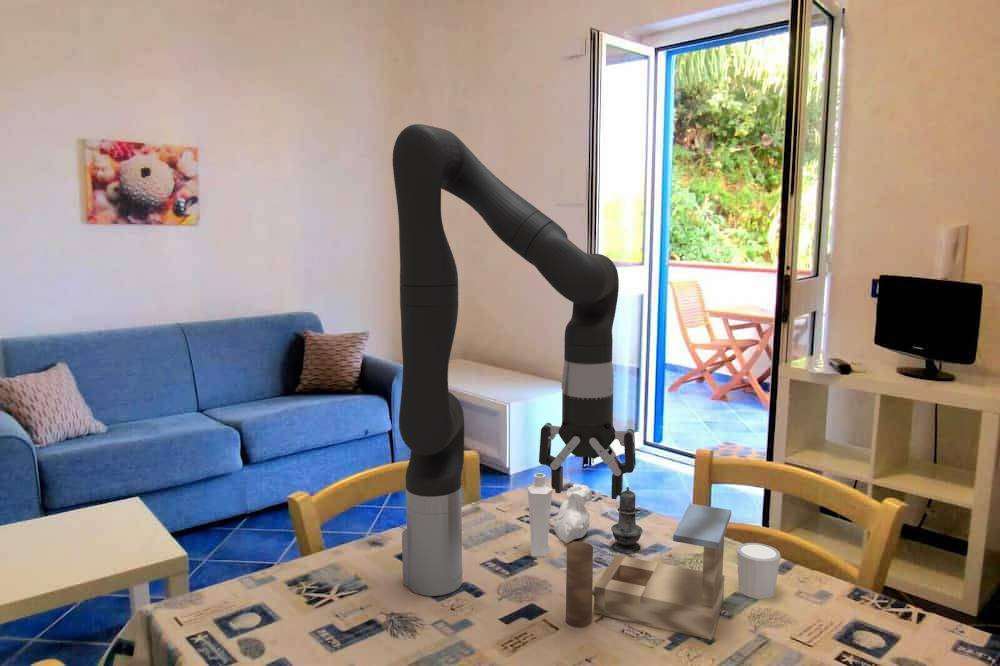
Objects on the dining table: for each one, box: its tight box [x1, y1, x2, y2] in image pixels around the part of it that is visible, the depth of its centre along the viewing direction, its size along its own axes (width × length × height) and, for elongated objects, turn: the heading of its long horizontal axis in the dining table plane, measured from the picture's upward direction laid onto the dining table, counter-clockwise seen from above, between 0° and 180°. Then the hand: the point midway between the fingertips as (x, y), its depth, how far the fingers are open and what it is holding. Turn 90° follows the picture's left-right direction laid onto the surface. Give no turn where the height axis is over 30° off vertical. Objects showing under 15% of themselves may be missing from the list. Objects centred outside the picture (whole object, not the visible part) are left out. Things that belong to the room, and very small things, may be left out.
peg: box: [565, 541, 594, 629], centre depth 113 cm, size 4×4×12 cm
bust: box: [553, 483, 593, 544], centre depth 143 cm, size 12×8×11 cm
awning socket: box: [593, 503, 732, 641], centre depth 116 cm, size 18×13×16 cm
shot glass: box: [736, 542, 781, 600], centre depth 122 cm, size 7×7×7 cm
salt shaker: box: [610, 486, 644, 555], centre depth 138 cm, size 6×6×12 cm
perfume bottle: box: [527, 472, 553, 558], centre depth 135 cm, size 5×4×15 cm
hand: (586, 494), depth 111 cm, fingers open, 8 cm apart
